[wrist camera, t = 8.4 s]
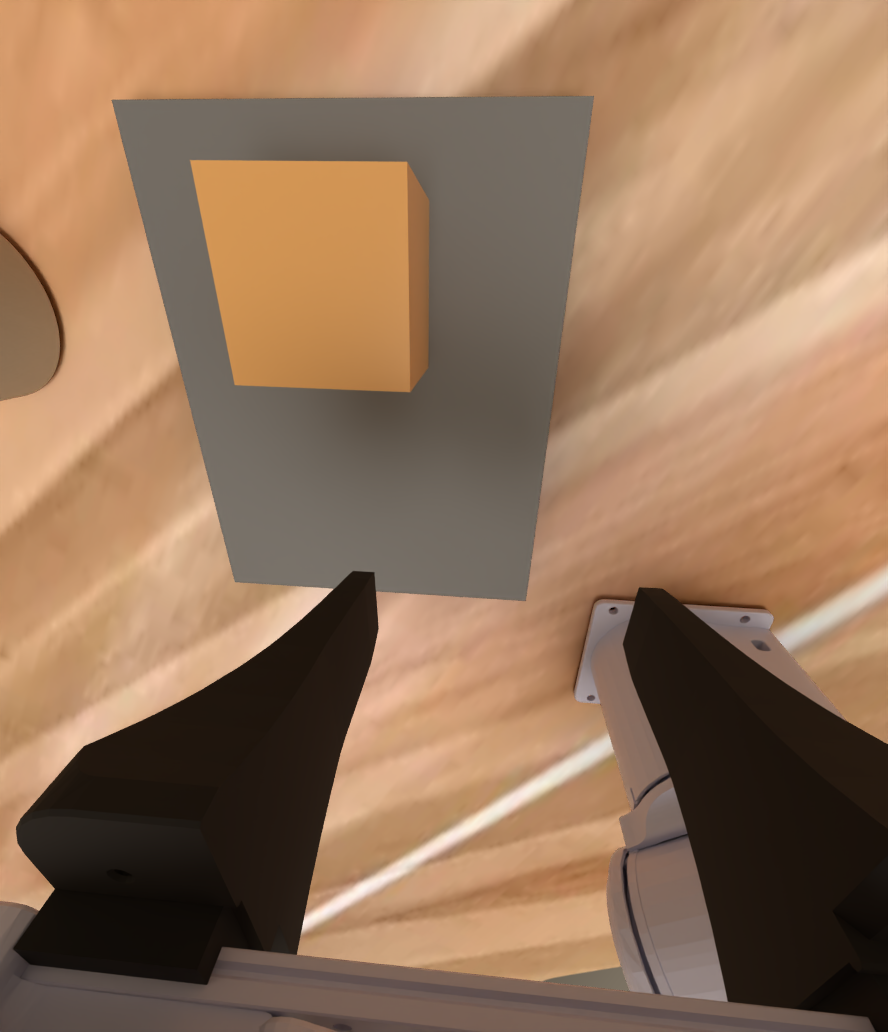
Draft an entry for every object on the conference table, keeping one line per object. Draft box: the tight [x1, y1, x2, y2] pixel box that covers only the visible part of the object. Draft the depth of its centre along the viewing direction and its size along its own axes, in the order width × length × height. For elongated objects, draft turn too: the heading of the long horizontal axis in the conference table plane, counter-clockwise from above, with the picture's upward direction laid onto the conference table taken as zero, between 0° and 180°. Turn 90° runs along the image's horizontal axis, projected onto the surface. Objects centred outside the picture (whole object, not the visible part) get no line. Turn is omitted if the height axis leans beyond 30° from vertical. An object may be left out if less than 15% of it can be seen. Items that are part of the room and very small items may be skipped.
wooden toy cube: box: [190, 160, 429, 392], centre depth 14 cm, size 6×6×5 cm
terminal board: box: [112, 96, 594, 601], centre depth 18 cm, size 16×20×5 cm
